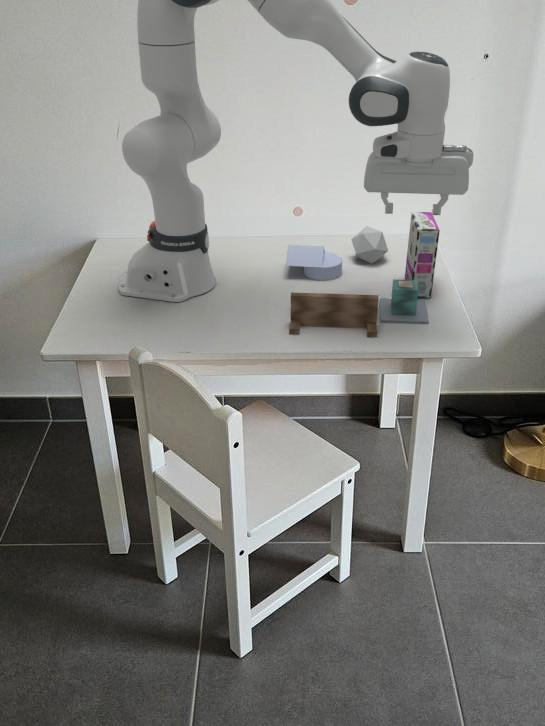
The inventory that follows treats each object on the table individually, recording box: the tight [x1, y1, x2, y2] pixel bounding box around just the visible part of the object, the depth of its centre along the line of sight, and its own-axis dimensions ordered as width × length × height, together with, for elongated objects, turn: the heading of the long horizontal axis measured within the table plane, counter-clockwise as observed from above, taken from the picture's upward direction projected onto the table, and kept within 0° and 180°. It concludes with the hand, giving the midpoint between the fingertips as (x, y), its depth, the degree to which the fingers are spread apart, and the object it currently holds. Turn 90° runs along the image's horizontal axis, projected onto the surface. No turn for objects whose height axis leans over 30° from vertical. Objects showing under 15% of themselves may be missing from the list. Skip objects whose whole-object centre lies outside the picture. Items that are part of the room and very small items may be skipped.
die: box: [350, 226, 389, 265], centre depth 180 cm, size 8×9×10 cm
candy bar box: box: [404, 211, 441, 299], centre depth 164 cm, size 11×5×16 cm, turn 178°
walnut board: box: [288, 291, 380, 338], centre depth 151 cm, size 18×5×7 cm, turn 85°
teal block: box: [390, 278, 419, 316], centre depth 157 cm, size 5×5×6 cm
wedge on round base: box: [285, 244, 343, 281], centre depth 175 cm, size 9×7×13 cm
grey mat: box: [379, 297, 430, 325], centre depth 159 cm, size 10×10×1 cm
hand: (412, 213), depth 147 cm, fingers open, 8 cm apart
